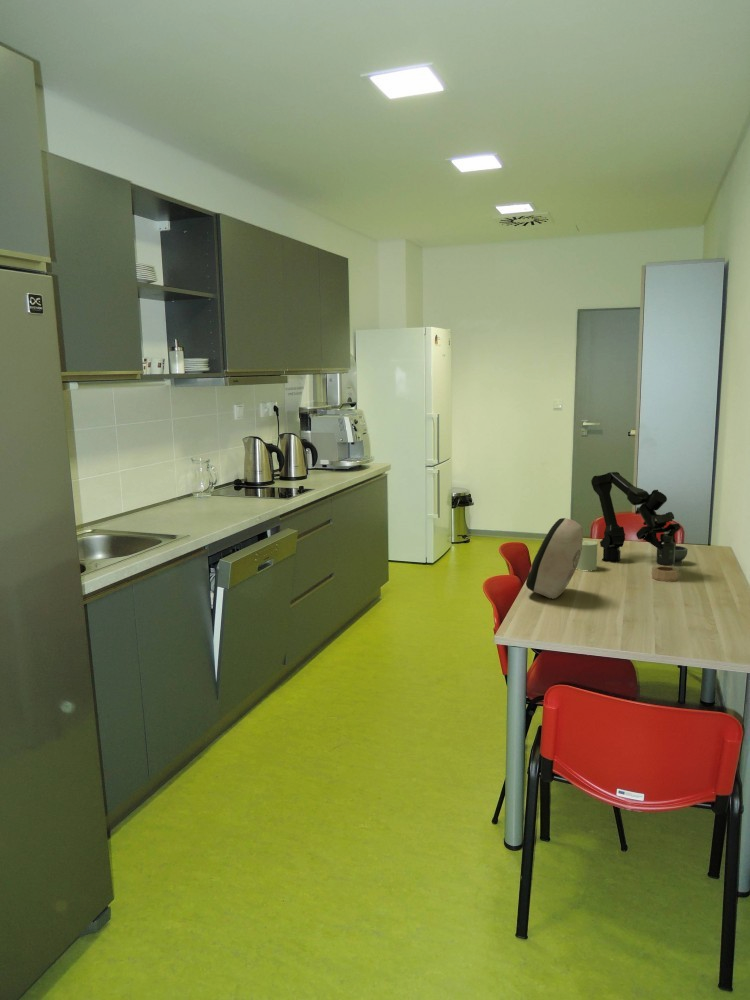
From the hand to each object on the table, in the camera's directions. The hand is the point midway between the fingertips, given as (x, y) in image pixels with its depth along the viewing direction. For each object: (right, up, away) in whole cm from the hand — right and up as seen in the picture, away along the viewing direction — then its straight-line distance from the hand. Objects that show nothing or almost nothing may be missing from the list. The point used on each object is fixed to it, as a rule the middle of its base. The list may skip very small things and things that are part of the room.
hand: (668, 548), depth 291 cm
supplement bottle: (0, -7, +2) cm, 7 cm away
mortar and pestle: (+13, -8, +27) cm, 31 cm away
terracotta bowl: (0, -12, +3) cm, 13 cm away
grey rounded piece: (-50, -17, -17) cm, 55 cm away
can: (-27, -10, +20) cm, 35 cm away
